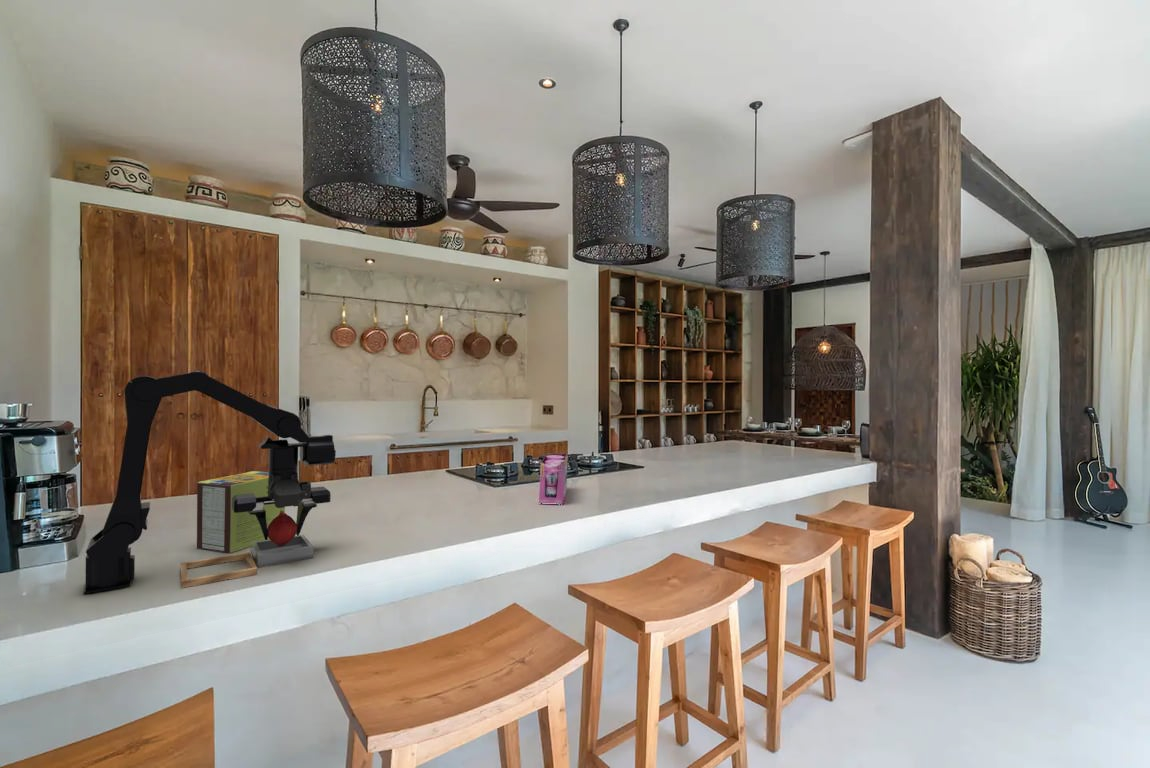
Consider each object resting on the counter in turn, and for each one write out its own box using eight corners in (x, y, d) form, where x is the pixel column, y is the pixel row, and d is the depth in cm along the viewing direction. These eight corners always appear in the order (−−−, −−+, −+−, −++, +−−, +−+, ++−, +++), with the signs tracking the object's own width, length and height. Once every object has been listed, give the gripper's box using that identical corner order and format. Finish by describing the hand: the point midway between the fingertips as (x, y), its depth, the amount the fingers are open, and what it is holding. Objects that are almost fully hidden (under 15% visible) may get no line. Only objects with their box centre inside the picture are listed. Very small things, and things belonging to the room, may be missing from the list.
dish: (257, 567, 110) (257, 555, 110) (251, 553, 118) (251, 542, 118) (313, 557, 116) (313, 546, 116) (303, 545, 125) (303, 534, 125)
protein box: (285, 534, 133) (286, 473, 132) (229, 554, 118) (230, 485, 118) (253, 530, 136) (254, 470, 135) (194, 548, 121) (195, 481, 121)
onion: (301, 542, 120) (302, 507, 120) (288, 551, 114) (289, 514, 114) (275, 542, 120) (276, 507, 120) (261, 550, 114) (262, 513, 114)
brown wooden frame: (181, 588, 99) (181, 581, 99) (180, 568, 108) (180, 562, 108) (257, 574, 106) (257, 568, 106) (249, 557, 116) (249, 551, 116)
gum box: (562, 506, 167) (563, 464, 167) (538, 506, 168) (538, 463, 168) (566, 490, 191) (567, 453, 191) (545, 490, 192) (546, 453, 192)
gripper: (237, 477, 105) (236, 555, 105) (337, 469, 116) (335, 539, 117) (232, 468, 114) (230, 540, 114) (325, 462, 125) (324, 527, 125)
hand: (281, 537), depth 117 cm, fingers closed on onion, 6 cm apart
